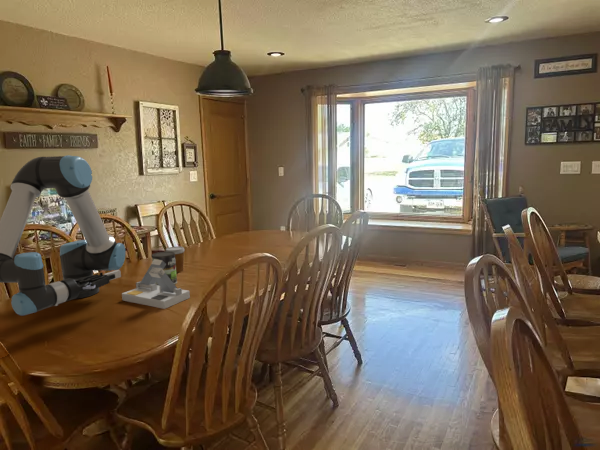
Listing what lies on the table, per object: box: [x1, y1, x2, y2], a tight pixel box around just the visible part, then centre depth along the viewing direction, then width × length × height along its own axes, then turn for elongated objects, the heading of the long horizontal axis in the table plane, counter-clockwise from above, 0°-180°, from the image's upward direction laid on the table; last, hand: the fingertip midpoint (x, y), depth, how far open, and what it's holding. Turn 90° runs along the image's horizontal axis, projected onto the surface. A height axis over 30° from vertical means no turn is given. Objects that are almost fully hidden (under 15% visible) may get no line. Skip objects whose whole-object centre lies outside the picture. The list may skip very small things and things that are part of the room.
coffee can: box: [151, 251, 178, 286], centre depth 200 cm, size 10×10×14 cm
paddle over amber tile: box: [139, 259, 166, 288], centre depth 186 cm, size 7×3×13 cm
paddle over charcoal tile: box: [149, 267, 178, 293], centre depth 173 cm, size 7×3×13 cm
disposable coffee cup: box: [164, 245, 185, 274], centre depth 220 cm, size 10×10×12 cm
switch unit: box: [121, 280, 191, 310], centre depth 179 cm, size 24×14×5 cm, turn 61°
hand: (119, 273), depth 171 cm, fingers closed
